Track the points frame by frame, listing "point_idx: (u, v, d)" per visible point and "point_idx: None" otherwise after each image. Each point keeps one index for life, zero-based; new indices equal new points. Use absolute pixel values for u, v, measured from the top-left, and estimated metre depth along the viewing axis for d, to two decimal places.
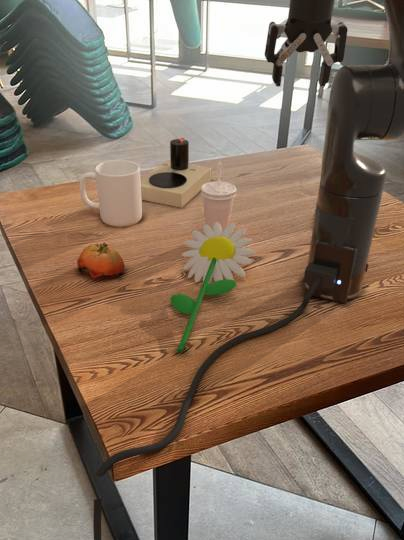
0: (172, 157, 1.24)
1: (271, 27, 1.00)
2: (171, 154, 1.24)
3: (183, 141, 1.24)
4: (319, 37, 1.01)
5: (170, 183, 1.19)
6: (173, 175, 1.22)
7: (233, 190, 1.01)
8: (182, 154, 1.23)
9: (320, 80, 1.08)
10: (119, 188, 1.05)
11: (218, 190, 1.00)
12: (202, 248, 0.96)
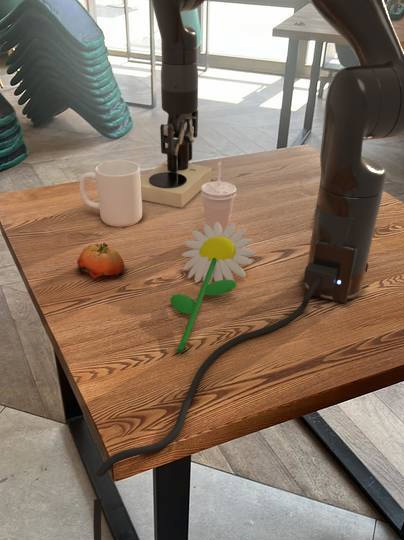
0: (185, 157, 1.24)
1: (168, 128, 1.16)
2: (184, 155, 1.24)
3: None
4: (191, 121, 1.22)
5: (170, 183, 1.19)
6: (173, 175, 1.22)
7: (233, 190, 1.01)
8: None
9: None
10: (119, 188, 1.05)
11: (218, 190, 1.00)
12: (202, 248, 0.96)
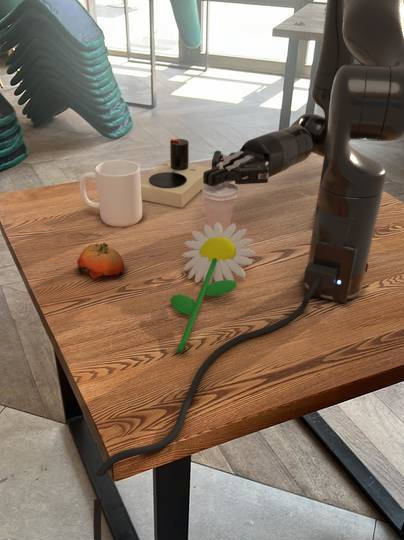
0: (185, 157, 1.24)
1: None
2: (184, 155, 1.24)
3: None
4: (252, 156, 1.02)
5: (170, 183, 1.19)
6: (173, 175, 1.22)
7: (234, 191, 1.01)
8: None
9: None
10: (119, 188, 1.05)
11: (219, 191, 1.00)
12: (202, 248, 0.96)
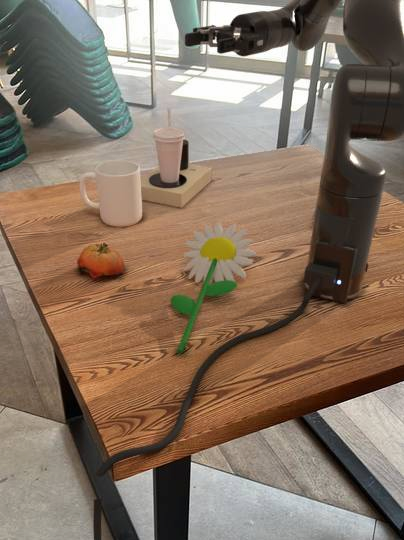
0: (185, 157, 1.24)
1: None
2: (184, 155, 1.24)
3: None
4: (239, 27, 1.12)
5: (170, 183, 1.19)
6: None
7: (181, 134, 1.14)
8: None
9: None
10: (119, 188, 1.05)
11: (168, 134, 1.13)
12: (203, 249, 0.96)
